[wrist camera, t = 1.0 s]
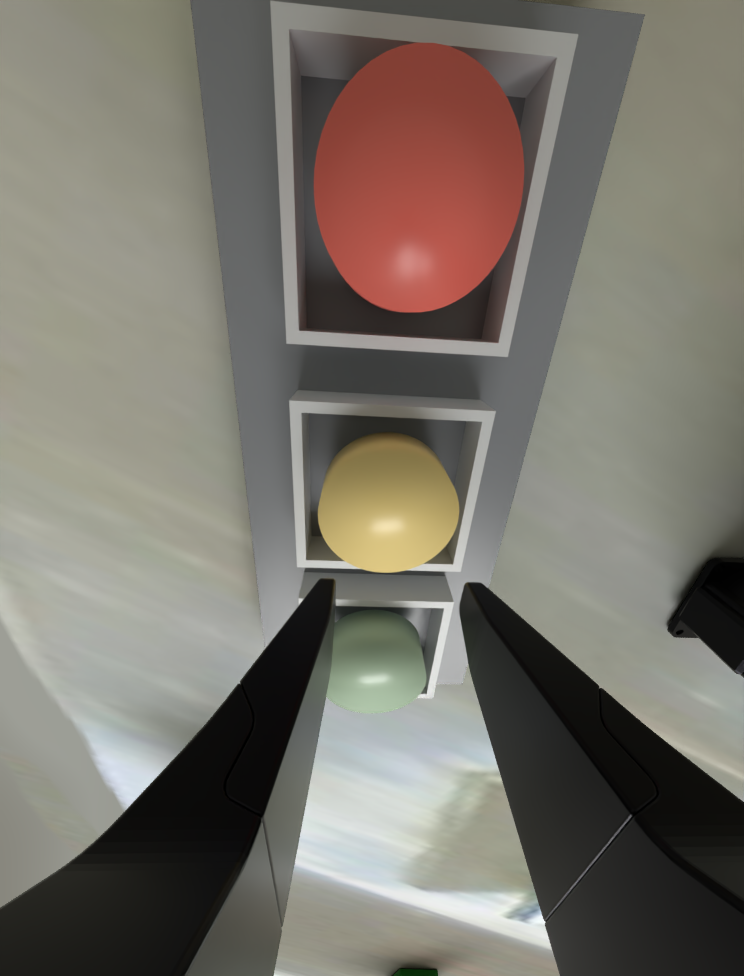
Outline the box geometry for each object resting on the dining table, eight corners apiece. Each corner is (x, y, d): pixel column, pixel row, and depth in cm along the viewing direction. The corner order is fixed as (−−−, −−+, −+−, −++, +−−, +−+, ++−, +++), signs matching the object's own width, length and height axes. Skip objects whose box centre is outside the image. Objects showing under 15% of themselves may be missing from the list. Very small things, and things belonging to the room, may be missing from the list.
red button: (513, 105, 9) (550, 55, 7) (476, 317, 11) (498, 318, 10) (321, 86, 9) (312, 30, 7) (322, 307, 11) (315, 306, 9)
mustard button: (456, 435, 13) (471, 454, 11) (437, 544, 15) (447, 574, 14) (323, 428, 13) (316, 447, 11) (323, 540, 15) (318, 570, 13)
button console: (581, 80, 12) (703, -47, 8) (451, 643, 25) (470, 713, 20) (226, 44, 11) (146, -116, 7) (278, 640, 24) (261, 712, 20)
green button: (426, 610, 17) (433, 645, 15) (414, 676, 19) (419, 713, 18) (323, 608, 17) (319, 643, 15) (324, 675, 19) (320, 713, 17)
